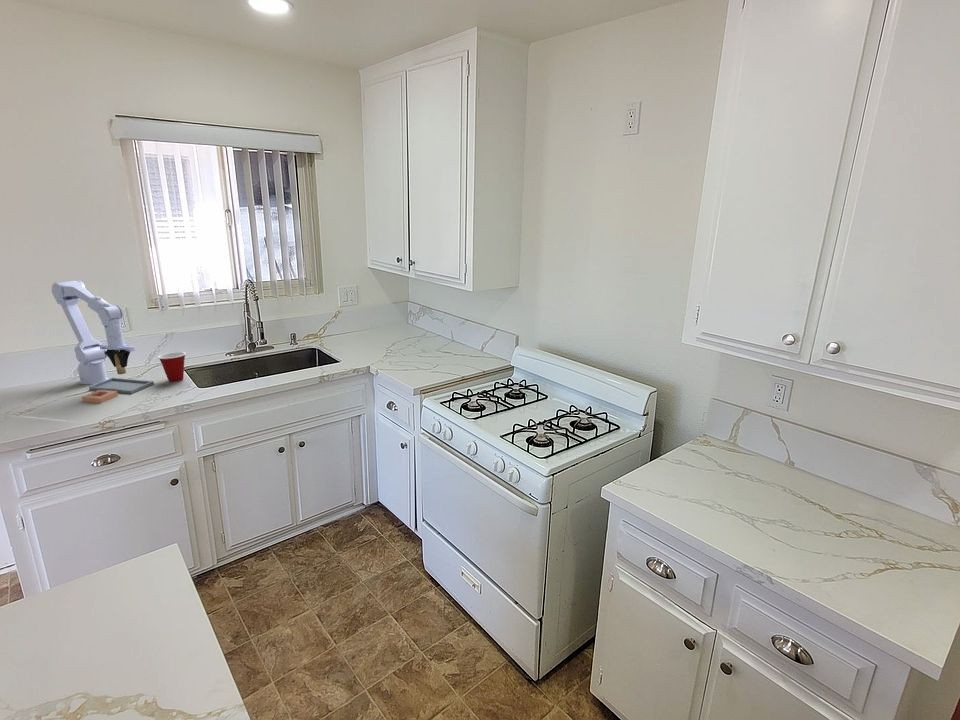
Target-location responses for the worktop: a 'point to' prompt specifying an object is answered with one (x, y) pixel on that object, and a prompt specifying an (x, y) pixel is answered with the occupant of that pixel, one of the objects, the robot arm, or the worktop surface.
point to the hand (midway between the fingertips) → (120, 366)
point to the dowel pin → (119, 366)
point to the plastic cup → (173, 365)
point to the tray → (122, 385)
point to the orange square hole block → (99, 396)
